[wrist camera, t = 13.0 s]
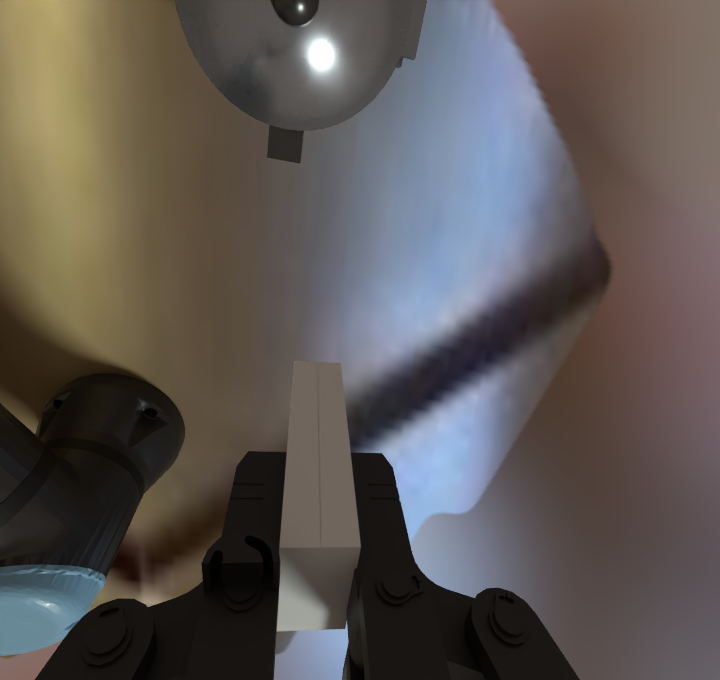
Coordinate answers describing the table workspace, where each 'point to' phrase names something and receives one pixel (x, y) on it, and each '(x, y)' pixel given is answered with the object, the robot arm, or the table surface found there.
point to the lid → (301, 53)
